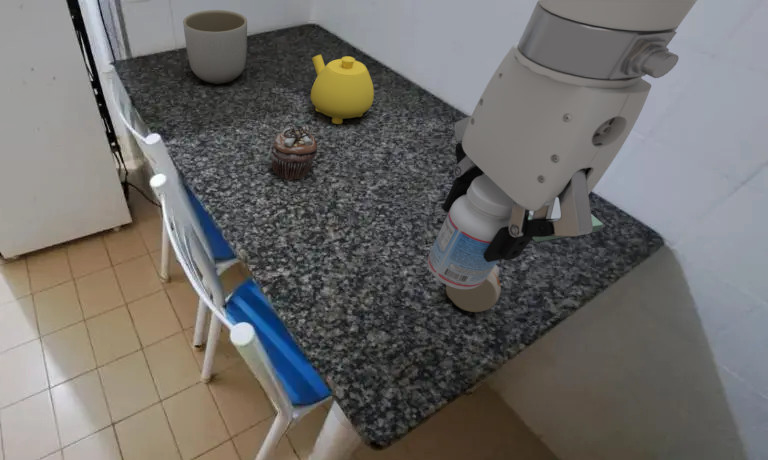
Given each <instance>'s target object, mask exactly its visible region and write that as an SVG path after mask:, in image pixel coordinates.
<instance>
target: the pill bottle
mask: <svg viewBox="0 0 768 460" xmlns="http://www.w3.org/2000/svg"><path fill="white" fill-rule="evenodd" d="M513 201H514V200H513V199H512V198H510V197H509V196H508V195H507V194H506V193H505V192H504V191H503V190H502V189H501V188H500V187H499V186H498V185H496V184H495V183H494V182H493V181H492V180H491V179H490V178H489V177H488V176H487V175H486V174H483V175H481V176H478V177H477V178H475V179H474V180H473V181H472V183H471V185H470V187H469V188H468V190H467V194H465V195H463V196H461V197H459V198H458V199H457V200H456V201H455V202H454V203H453V205H452V206H451V208H450V210H449V213H448V212H447V216H446V217H445V219H444V221H443V224H442V225H441V228H440V230H439V232H438V235H437V236H436V238H435V241H434V243H433V244H432V247H431V249H430V251H429V253H428V256H427V266H428V268H429V271H430V272H431V274H432V275H433V276H434V277H435V279H437V280H438V281H439V282H440V283H442V284H444V285H445V286H446V285H448V286H450V287H453V288H457V289H473V288H476V287H478V286H479V285H481V284H482V283H483V282H484V281H485V280H486V278H487V277H488V275H489V274H490V273H491V271H492V270H493V268H494V267H495V265H497V264H498V262H499V261H500V260H497V261H492V262H487V261H486V260H485V259H484V258H483V256H484V255H483V254H484V253H485V251H486V249H487V248H488V246H489V245H490V243H491V242H492V240H493V238H494V237H495V235H496V234H497V232H498V231H499V229H500V228H502V227H507V226H509V222H510V217H511V212H512V207H513Z"/></svg>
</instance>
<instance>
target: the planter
mask: <svg viewBox="0 0 768 460" xmlns="http://www.w3.org/2000/svg"><path fill="white" fill-rule="evenodd" d="M182 25H183V33H184V40H185V47H186V54H187V59H188V63H189V66H190V69H191V71H192V72H193V74H194V76H196V77H197V78H199V79H200V80H201V81H204V82H206V83H209V84H216V85H218V84H219V85H221V84H225V83H226V84H227V83H230V82H232V81H234V80H235V79H237V78H238V77H239V76H240V75H241V74H242V73H243V71H244V70H245V67H246V62H247V51H248V19H247V18H246V17H245V16H244V15H242V14H241V13H238V12H235V11H231V10H224V9H209V10H202V11H201V10H200V11H197V12H193V13H191V14H188V15H187V16H185V17H184V19H183V21H182Z"/></svg>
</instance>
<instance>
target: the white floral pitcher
mask: <svg viewBox="0 0 768 460" xmlns="http://www.w3.org/2000/svg"><path fill="white" fill-rule="evenodd" d="M499 277H500V268H499V266H498V265H497V264H496V265H495V267H494V268H493V270H492V271H491V273H490V274H489V275H488V277H487V278H486V280H485V281H484V282H483V283H482V284H481V285H479V286H478V287H476V288H473V289H457V288H453V287H450V286H448V285H446V284H445V292H446V295H447V297H448V298H449V299H450V300H451V302H452V303H453V304H454V306H456V307H457V308H459V309H460V310H463V311H465V312H466V311H467V312H470V313H471V312H472V313H479V312H480V313H481V312H485V311H488V310H489V311H490V310H491V309H492V308H493V307H494V306H495V305H496V304H497V302H498V301H499V299H500V297H501V292H502V287H501V282H500V279H499Z"/></svg>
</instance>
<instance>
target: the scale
mask: <svg viewBox="0 0 768 460" xmlns="http://www.w3.org/2000/svg"><path fill="white" fill-rule="evenodd" d="M533 212H534V211H530V213H529V218H528V220H529V219H532V217H533ZM560 217H561V211H560V204H559V198H558V197H556V199H555V203H554V207H553V211H552V215H551V219H558V218H559V219H560ZM591 217H592V225H593V231H592V232H591V233H590V234H592V233H597V232H598V231H599V230H600V229H601V228H602V227H603V226H604V223H602V222H601V221H600V220H599V219H598V218H597V217H595V216H594V214H593V213H591ZM563 238H565V237H555V236H546V237H533V238H532V239H531V240H533V241H534V242H535V243H539V242H545V241H550V240H556V239H558V240H559V239H563Z"/></svg>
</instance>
